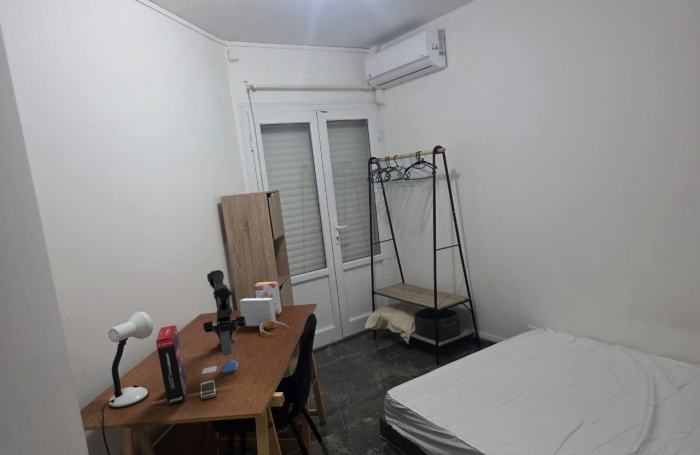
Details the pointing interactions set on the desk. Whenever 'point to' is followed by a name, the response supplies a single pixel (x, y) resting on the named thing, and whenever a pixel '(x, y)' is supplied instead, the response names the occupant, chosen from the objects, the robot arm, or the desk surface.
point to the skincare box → (257, 310)
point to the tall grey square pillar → (226, 343)
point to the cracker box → (269, 293)
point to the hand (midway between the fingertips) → (225, 340)
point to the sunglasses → (269, 326)
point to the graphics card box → (172, 364)
